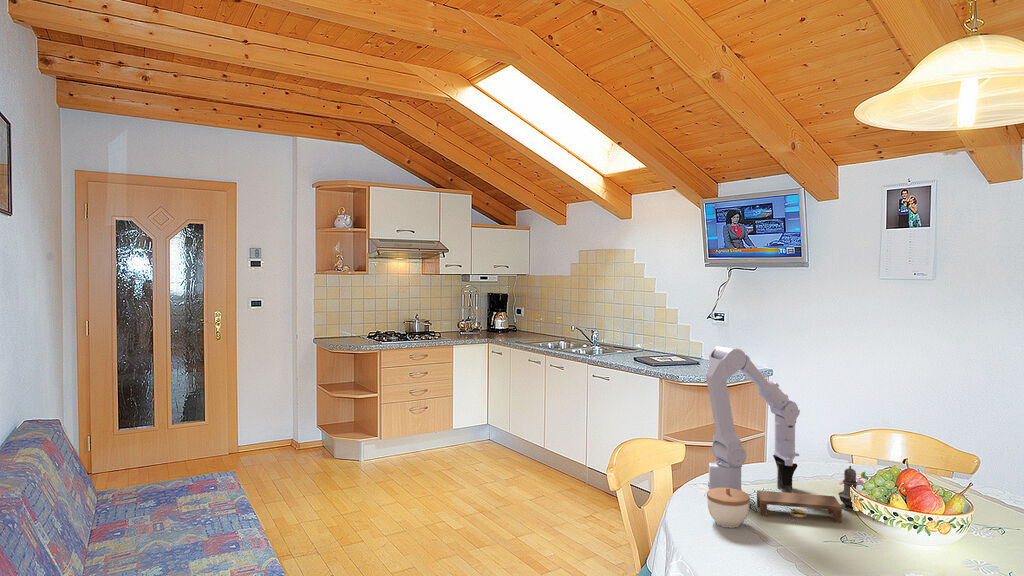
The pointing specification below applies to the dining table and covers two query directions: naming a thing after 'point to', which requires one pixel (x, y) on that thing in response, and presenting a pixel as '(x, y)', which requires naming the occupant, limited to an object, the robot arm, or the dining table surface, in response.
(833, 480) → the dining table surface
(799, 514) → the brass token
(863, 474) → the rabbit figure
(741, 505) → the lidded jar
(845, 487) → the salt shaker
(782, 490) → the scraper tool
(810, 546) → the dining table surface
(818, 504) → the low shelf
